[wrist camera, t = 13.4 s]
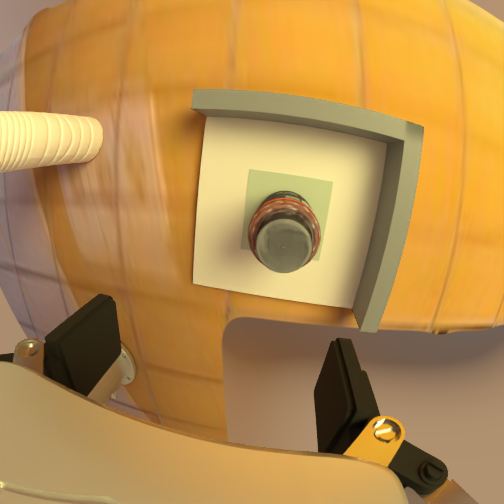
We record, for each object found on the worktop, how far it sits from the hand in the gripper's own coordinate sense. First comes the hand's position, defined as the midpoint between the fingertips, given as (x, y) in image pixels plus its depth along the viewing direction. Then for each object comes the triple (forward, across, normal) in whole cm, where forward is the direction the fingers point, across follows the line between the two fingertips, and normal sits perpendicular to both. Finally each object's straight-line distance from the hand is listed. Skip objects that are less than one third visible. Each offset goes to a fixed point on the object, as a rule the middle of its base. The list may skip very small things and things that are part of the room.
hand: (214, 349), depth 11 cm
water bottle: (+23, +24, -10) cm, 35 cm away
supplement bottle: (+21, -3, -2) cm, 21 cm away
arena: (+22, -4, -3) cm, 22 cm away
